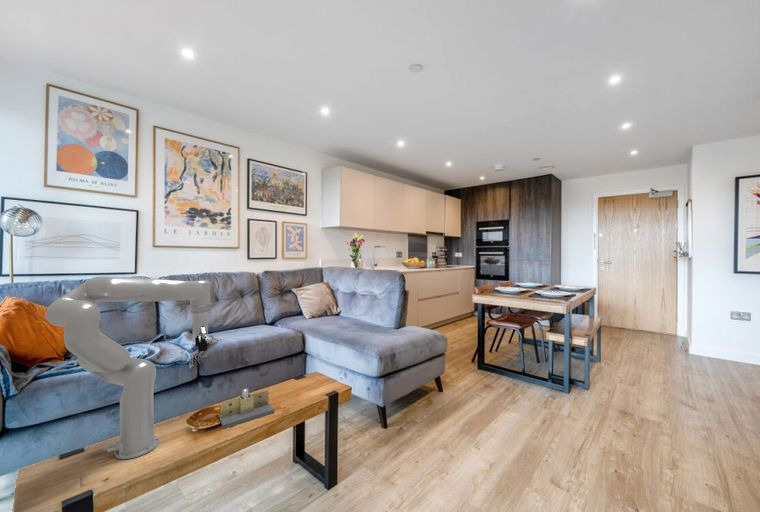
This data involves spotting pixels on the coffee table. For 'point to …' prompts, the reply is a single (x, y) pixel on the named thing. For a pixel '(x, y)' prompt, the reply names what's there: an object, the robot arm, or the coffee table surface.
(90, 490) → the coffee table surface
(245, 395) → the hinge pin
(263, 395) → the hinge
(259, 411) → the base plate
